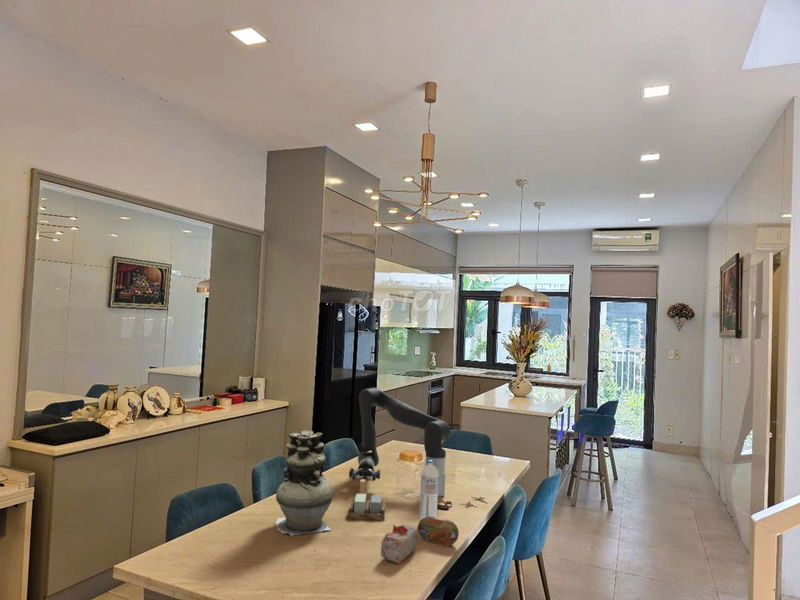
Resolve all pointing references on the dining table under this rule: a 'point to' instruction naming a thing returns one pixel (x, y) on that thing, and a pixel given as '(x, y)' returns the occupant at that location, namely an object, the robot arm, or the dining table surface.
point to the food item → (398, 543)
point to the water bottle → (428, 491)
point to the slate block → (375, 504)
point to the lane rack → (366, 514)
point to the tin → (438, 531)
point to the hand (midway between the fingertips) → (363, 478)
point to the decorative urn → (304, 486)
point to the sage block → (360, 499)
